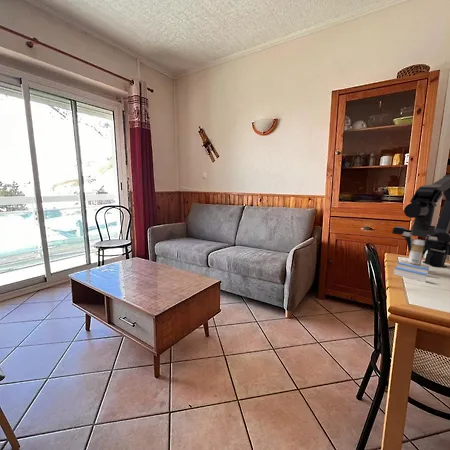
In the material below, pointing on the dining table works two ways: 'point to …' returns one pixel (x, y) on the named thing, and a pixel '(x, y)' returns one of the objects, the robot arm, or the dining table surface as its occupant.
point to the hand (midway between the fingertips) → (416, 253)
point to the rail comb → (412, 270)
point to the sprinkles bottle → (416, 252)
